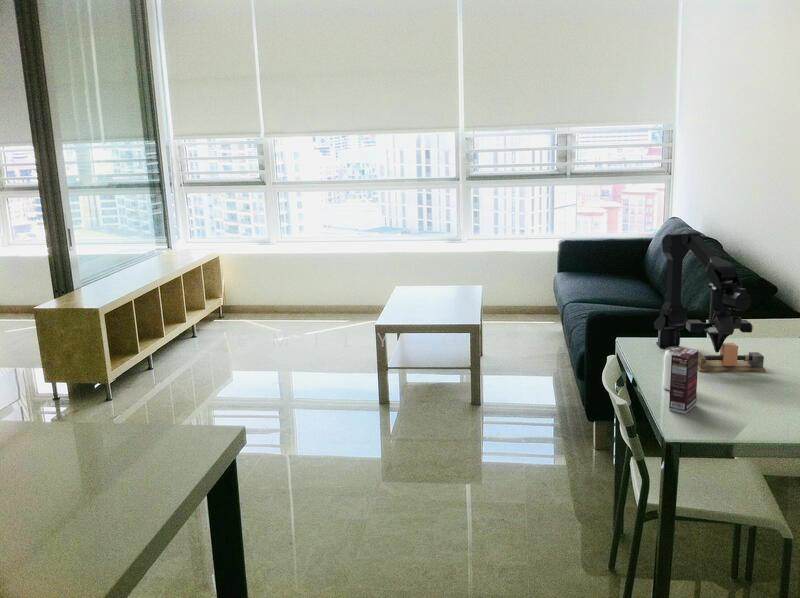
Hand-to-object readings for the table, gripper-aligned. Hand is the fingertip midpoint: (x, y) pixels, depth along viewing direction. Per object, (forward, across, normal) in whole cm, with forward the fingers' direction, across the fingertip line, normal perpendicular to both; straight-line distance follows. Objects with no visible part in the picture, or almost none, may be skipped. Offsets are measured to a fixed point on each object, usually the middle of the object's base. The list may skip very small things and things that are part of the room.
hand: (716, 352), depth 238 cm
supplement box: (+5, -20, -36) cm, 41 cm away
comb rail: (+5, +4, 0) cm, 6 cm away
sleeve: (+4, +4, 0) cm, 5 cm away
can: (+5, -18, -20) cm, 27 cm away
